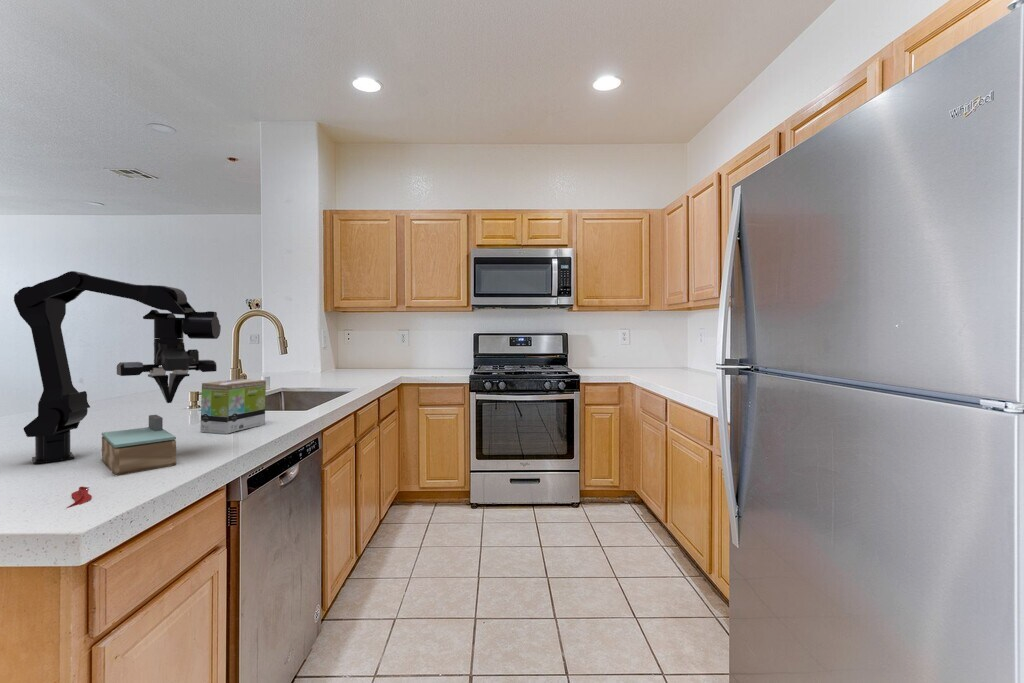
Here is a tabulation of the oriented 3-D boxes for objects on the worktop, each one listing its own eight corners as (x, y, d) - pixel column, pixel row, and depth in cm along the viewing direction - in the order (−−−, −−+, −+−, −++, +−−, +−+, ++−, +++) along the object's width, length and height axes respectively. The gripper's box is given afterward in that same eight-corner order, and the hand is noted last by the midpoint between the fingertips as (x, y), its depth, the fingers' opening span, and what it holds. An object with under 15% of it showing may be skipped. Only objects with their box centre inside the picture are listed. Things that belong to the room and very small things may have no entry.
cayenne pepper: (79, 510, 77) (79, 499, 77) (44, 513, 75) (44, 502, 75) (113, 487, 88) (112, 477, 88) (82, 490, 87) (82, 480, 87)
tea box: (228, 434, 132) (228, 383, 132) (199, 432, 134) (199, 382, 134) (266, 424, 147) (266, 378, 146) (239, 423, 149) (239, 377, 148)
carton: (101, 460, 104) (101, 436, 104) (158, 451, 112) (158, 429, 112) (115, 475, 94) (114, 449, 94) (176, 465, 102) (176, 440, 102)
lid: (101, 435, 104) (101, 419, 104) (157, 428, 112) (157, 413, 112) (114, 447, 94) (114, 430, 94) (175, 439, 101) (176, 423, 101)
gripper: (125, 339, 98) (125, 411, 98) (223, 339, 112) (223, 402, 112) (116, 338, 105) (116, 405, 105) (209, 338, 119) (209, 397, 119)
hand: (169, 402), depth 110 cm, fingers closed
